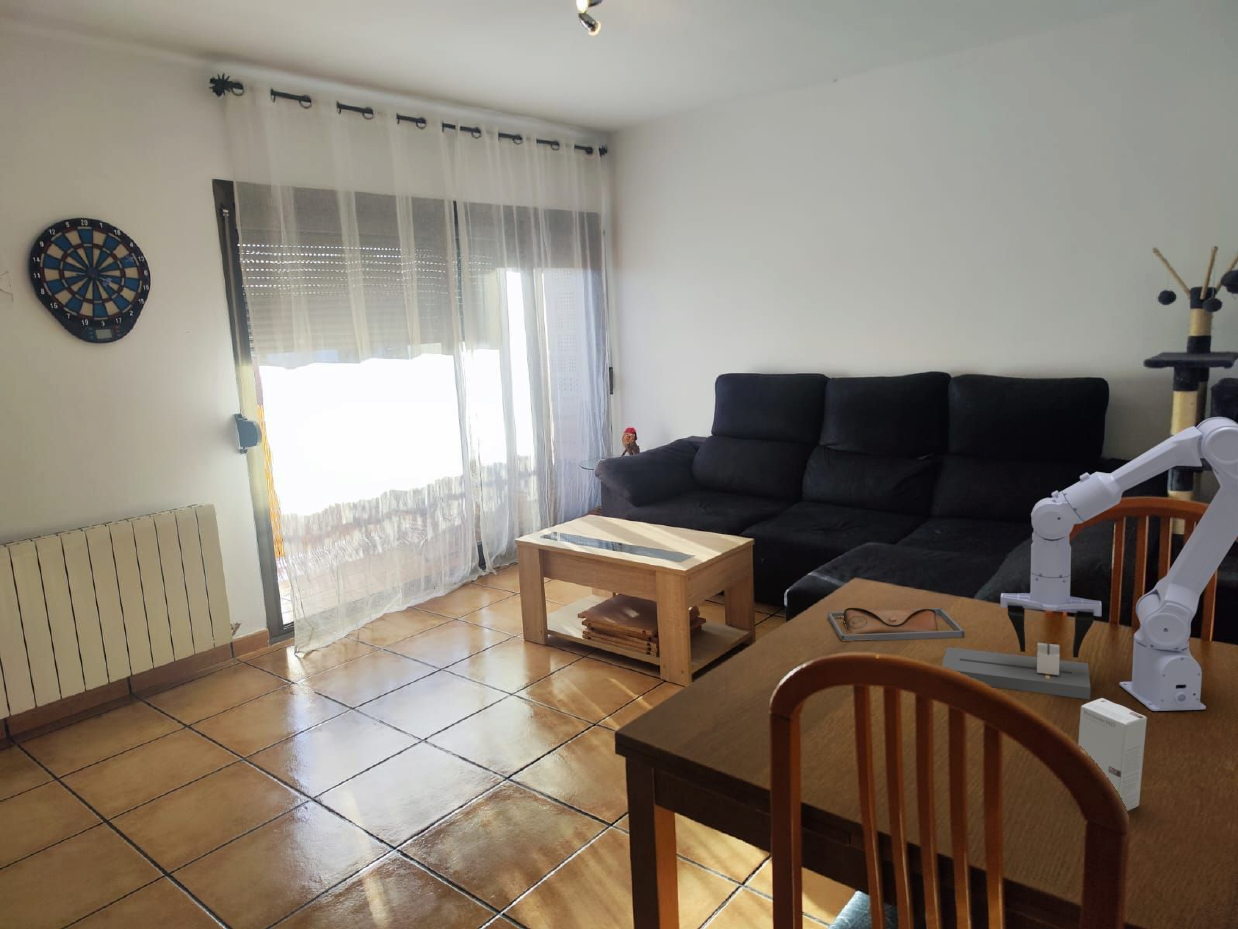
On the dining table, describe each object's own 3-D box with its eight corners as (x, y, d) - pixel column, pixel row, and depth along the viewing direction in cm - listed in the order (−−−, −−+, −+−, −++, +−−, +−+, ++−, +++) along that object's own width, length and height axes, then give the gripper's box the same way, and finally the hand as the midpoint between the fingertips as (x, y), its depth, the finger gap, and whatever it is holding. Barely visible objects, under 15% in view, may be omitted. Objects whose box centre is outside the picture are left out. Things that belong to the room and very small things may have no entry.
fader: (1058, 663, 139) (1059, 644, 139) (1058, 675, 135) (1059, 655, 134) (1037, 660, 141) (1037, 642, 140) (1036, 672, 136) (1037, 653, 136)
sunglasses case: (847, 637, 161) (845, 603, 164) (844, 643, 168) (842, 610, 170) (944, 638, 158) (941, 603, 161) (938, 644, 165) (935, 610, 167)
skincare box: (1073, 793, 107) (1076, 704, 105) (1096, 783, 109) (1100, 696, 107) (1119, 817, 101) (1123, 724, 99) (1143, 807, 103) (1148, 715, 101)
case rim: (964, 637, 158) (964, 631, 158) (841, 641, 160) (841, 635, 160) (941, 613, 171) (941, 608, 171) (828, 618, 173) (828, 612, 172)
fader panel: (1087, 674, 140) (1087, 663, 140) (1090, 699, 131) (1090, 687, 131) (947, 657, 150) (947, 646, 149) (940, 680, 141) (940, 668, 141)
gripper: (1000, 576, 135) (999, 656, 137) (1103, 583, 128) (1101, 667, 130) (1002, 564, 141) (1001, 640, 143) (1101, 570, 134) (1098, 650, 137)
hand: (1048, 652), depth 137 cm, fingers open, 7 cm apart
